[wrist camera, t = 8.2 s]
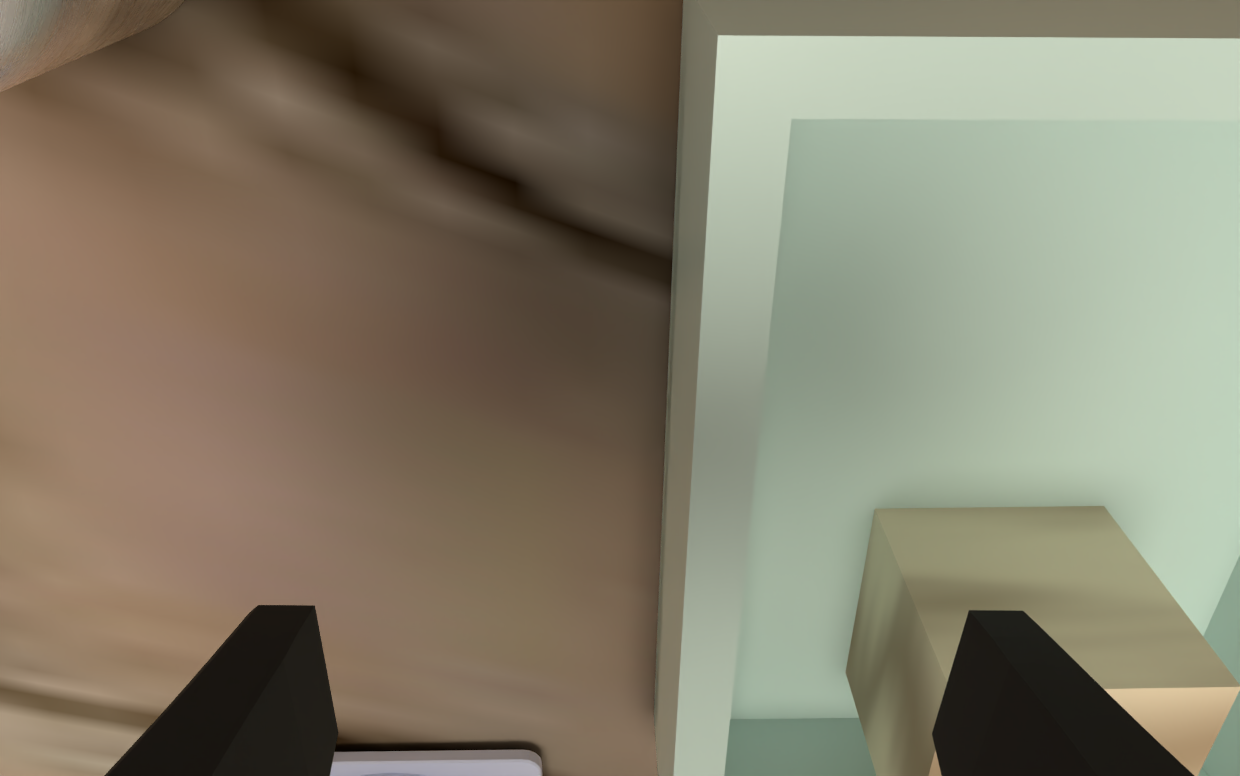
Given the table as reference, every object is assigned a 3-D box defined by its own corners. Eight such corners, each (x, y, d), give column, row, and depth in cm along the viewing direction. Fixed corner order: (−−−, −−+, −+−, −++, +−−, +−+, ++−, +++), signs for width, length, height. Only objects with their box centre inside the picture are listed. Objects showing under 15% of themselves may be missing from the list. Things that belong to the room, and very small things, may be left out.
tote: (1173, 708, 25) (1292, 889, 21) (653, 714, 25) (666, 900, 20) (1501, -14, 16) (1836, 42, 12) (684, -20, 16) (717, 35, 11)
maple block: (1049, 669, 23) (1154, 862, 18) (845, 672, 23) (904, 868, 18) (1103, 506, 20) (1240, 686, 16) (874, 508, 20) (950, 691, 16)
